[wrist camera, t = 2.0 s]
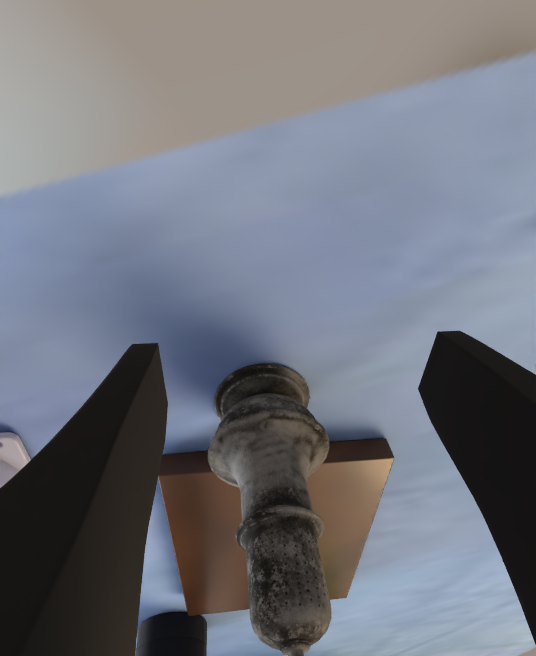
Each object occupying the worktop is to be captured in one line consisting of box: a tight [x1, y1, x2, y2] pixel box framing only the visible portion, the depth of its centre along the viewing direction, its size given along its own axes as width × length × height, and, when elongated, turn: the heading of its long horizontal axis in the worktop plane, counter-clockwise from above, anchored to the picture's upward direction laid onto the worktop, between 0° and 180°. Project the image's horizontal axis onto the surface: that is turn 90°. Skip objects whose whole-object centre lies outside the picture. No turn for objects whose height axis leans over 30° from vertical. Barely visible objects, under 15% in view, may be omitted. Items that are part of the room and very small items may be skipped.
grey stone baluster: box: [208, 364, 331, 656], centre depth 17 cm, size 6×6×12 cm
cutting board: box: [158, 439, 394, 616], centre depth 29 cm, size 14×20×2 cm
